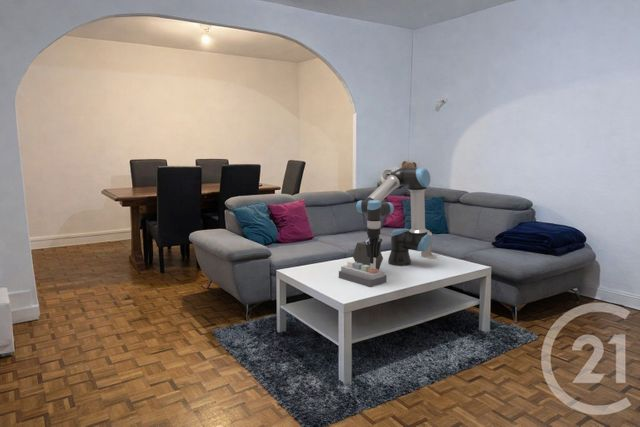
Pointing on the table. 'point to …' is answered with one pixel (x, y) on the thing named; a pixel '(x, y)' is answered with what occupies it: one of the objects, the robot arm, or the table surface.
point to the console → (362, 276)
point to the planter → (365, 255)
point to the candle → (428, 252)
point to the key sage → (365, 268)
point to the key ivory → (351, 264)
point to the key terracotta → (373, 270)
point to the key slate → (358, 266)
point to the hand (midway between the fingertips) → (372, 268)
